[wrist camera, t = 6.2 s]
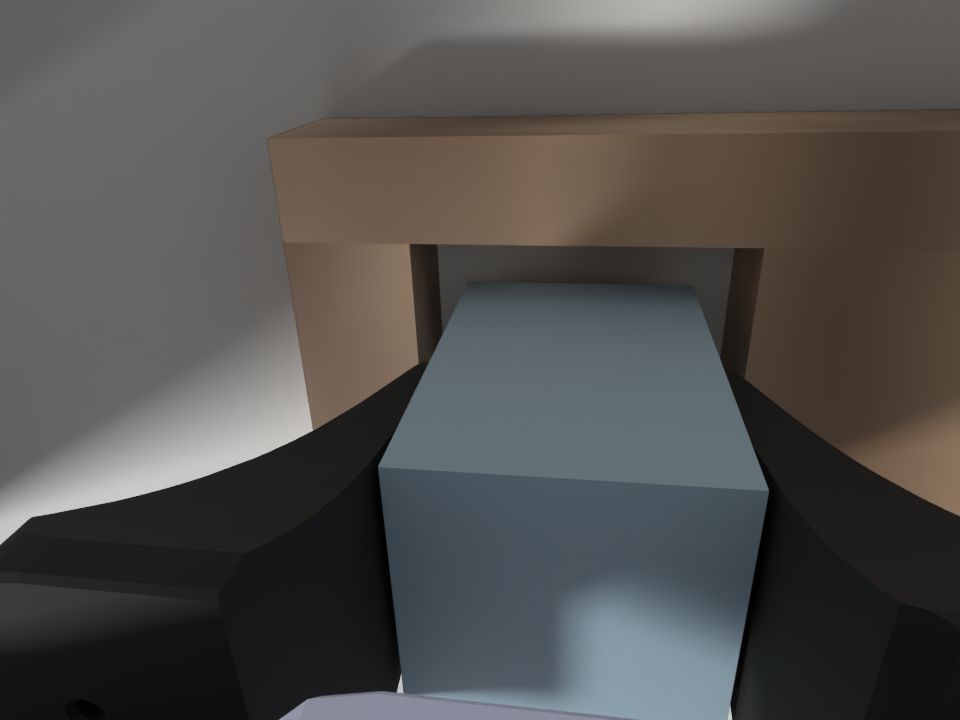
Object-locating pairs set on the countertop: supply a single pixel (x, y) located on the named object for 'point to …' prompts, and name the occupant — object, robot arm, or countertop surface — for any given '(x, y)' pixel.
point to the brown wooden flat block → (653, 251)
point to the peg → (574, 506)
